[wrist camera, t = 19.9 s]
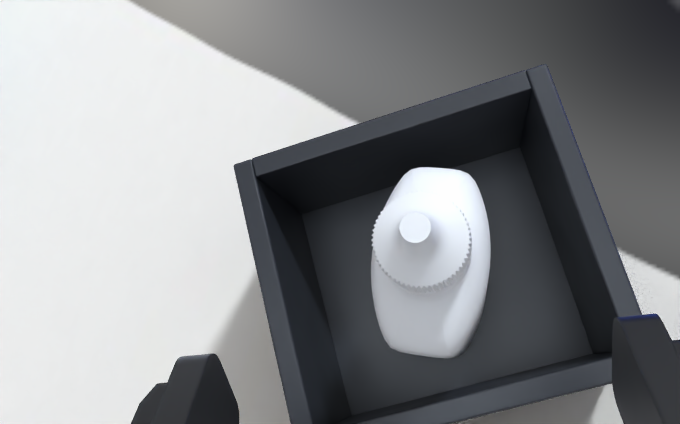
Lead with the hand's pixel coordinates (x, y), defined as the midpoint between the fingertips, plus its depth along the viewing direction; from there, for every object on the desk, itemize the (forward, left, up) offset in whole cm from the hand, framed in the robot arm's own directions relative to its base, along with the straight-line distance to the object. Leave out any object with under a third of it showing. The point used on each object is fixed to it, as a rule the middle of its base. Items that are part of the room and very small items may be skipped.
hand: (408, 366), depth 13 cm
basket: (+1, +3, -13) cm, 14 cm away
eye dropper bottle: (+1, +3, -13) cm, 13 cm away
